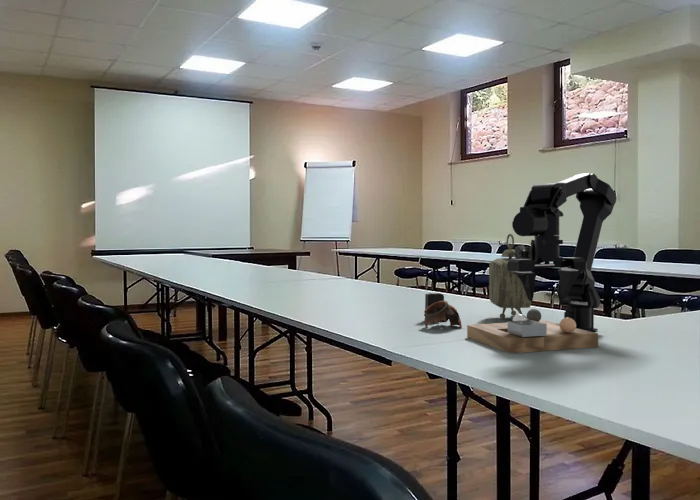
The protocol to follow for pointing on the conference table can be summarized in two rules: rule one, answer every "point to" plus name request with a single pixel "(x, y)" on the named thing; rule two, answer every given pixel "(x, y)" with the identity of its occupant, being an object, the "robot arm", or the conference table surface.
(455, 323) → the brown arched legged figurine
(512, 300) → the tabletop clock
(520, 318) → the steel ball
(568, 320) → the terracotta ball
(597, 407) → the conference table surface
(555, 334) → the walnut deck
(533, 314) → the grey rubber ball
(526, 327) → the brushed grey metal box
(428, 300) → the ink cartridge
